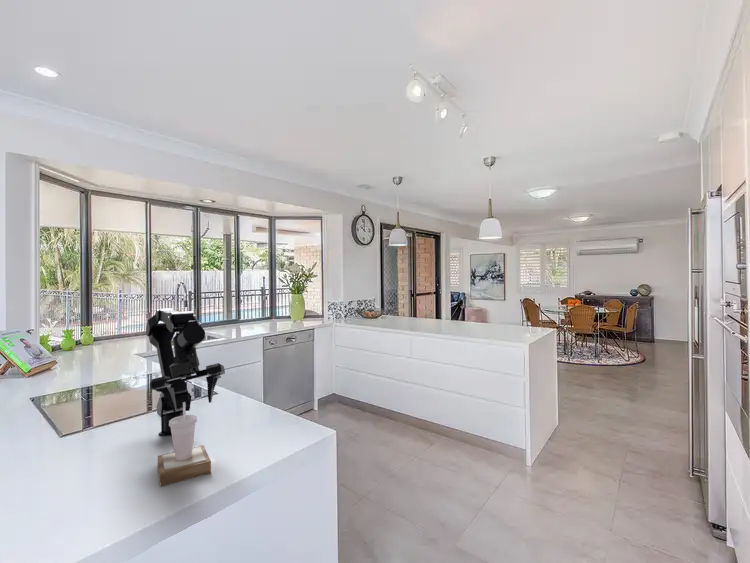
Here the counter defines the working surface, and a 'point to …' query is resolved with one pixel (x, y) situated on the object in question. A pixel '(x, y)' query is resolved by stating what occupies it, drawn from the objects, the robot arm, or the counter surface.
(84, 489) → the counter surface
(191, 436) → the smoothie
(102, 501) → the counter surface
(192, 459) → the plinth
